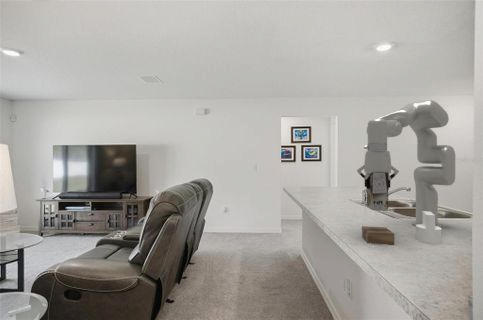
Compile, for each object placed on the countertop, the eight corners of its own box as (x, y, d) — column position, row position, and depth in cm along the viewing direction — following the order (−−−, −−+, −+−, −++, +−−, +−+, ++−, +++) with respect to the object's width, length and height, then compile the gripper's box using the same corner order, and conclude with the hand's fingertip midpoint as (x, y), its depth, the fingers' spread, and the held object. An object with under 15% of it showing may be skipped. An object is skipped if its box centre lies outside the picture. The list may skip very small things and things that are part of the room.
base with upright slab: (414, 236, 117) (414, 210, 117) (438, 239, 113) (438, 212, 113) (417, 242, 109) (417, 214, 109) (444, 245, 105) (444, 216, 105)
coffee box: (389, 211, 106) (389, 172, 106) (372, 210, 107) (372, 172, 107) (381, 207, 115) (381, 171, 115) (366, 206, 116) (366, 171, 116)
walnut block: (361, 237, 117) (361, 226, 117) (385, 238, 115) (385, 227, 115) (368, 244, 108) (368, 232, 108) (394, 245, 106) (394, 233, 106)
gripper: (355, 148, 111) (355, 188, 111) (402, 147, 105) (402, 190, 105) (355, 148, 118) (355, 187, 118) (398, 148, 112) (398, 188, 112)
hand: (377, 188), depth 111 cm, fingers closed on coffee box, 7 cm apart
